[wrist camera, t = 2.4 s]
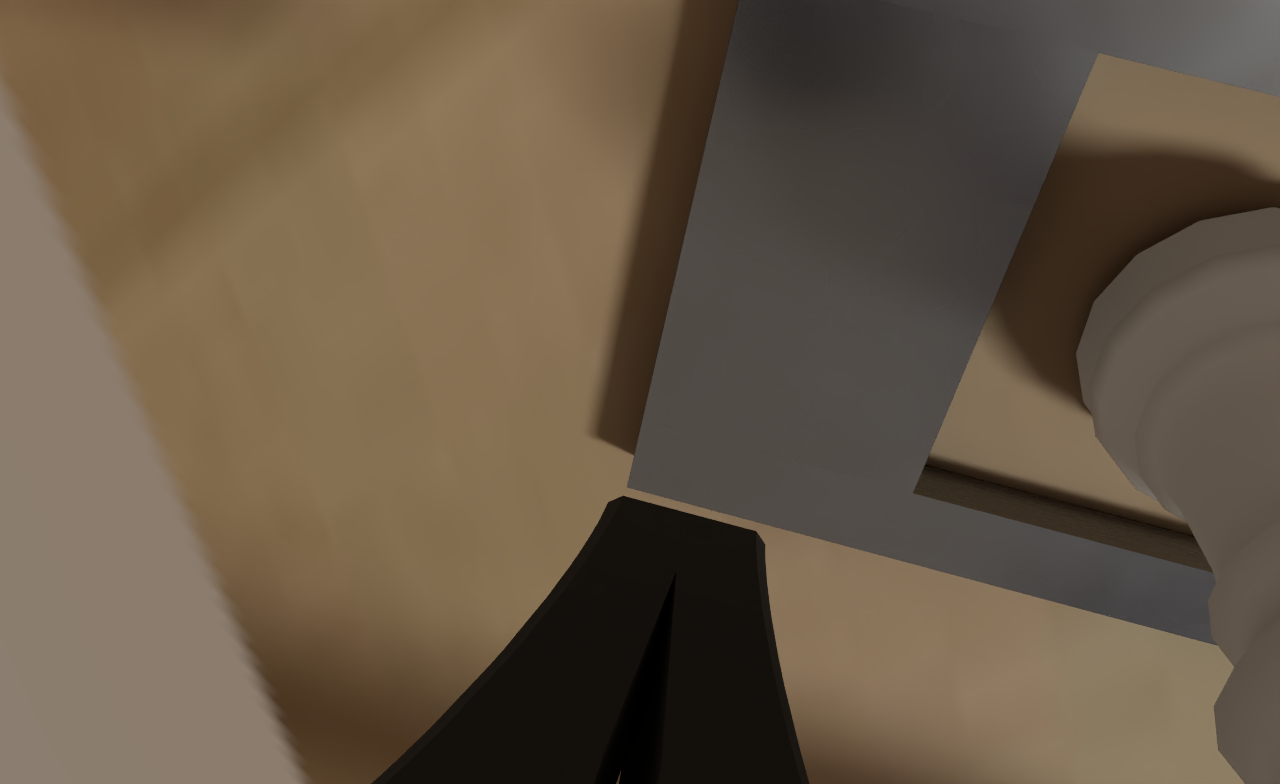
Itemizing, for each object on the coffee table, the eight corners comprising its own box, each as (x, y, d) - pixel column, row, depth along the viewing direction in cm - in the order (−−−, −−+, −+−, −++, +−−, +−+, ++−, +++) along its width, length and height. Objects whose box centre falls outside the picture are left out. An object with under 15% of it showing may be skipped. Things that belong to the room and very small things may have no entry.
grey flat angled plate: (1576, 709, 19) (1599, 748, 19) (635, 457, 20) (626, 487, 20) (2135, 155, 14) (2196, 184, 13) (780, -165, 14) (774, -154, 14)
